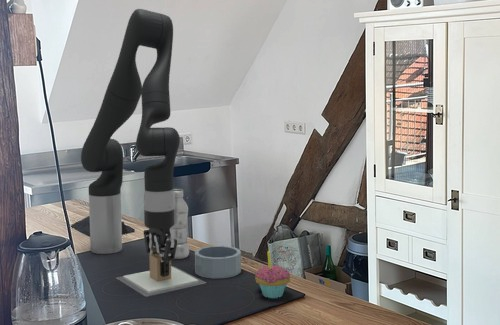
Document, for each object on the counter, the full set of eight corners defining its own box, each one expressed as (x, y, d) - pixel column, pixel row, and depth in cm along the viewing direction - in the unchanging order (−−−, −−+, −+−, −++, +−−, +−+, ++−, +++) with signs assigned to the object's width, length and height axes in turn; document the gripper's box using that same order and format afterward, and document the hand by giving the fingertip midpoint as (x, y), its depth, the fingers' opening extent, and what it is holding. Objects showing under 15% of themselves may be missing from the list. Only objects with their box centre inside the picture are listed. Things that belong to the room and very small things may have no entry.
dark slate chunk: (108, 221, 233) (107, 208, 232) (138, 233, 216) (137, 219, 215) (67, 227, 224) (66, 214, 223) (95, 241, 206) (94, 226, 206)
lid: (123, 278, 167) (122, 253, 166) (171, 268, 175) (171, 244, 174) (148, 293, 156) (147, 266, 155) (198, 282, 164) (198, 257, 163)
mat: (115, 280, 167) (115, 277, 167) (173, 268, 177) (173, 266, 177) (145, 299, 154) (145, 296, 154) (206, 285, 164) (206, 282, 163)
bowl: (186, 272, 174) (186, 250, 174) (224, 264, 181) (224, 243, 181) (210, 284, 165) (210, 261, 164) (249, 275, 172) (249, 253, 171)
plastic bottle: (185, 262, 183) (184, 192, 180) (162, 261, 184) (161, 191, 181) (192, 256, 189) (191, 188, 186) (169, 254, 190) (168, 187, 187)
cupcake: (278, 303, 152) (279, 253, 150) (247, 296, 156) (248, 248, 154) (296, 292, 159) (296, 245, 157) (266, 286, 163) (266, 240, 162)
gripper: (186, 210, 159) (187, 278, 162) (159, 200, 170) (160, 264, 173) (159, 214, 155) (160, 284, 157) (132, 204, 166) (134, 269, 169)
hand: (160, 273), depth 165 cm, fingers closed on lid, 4 cm apart
